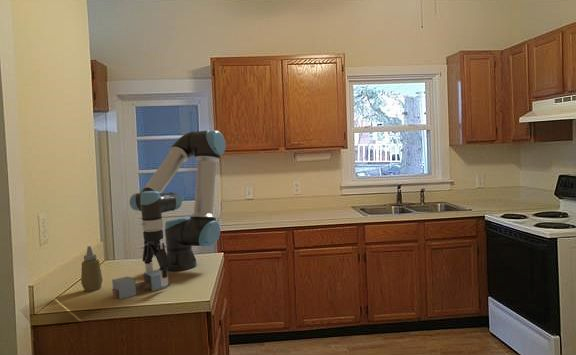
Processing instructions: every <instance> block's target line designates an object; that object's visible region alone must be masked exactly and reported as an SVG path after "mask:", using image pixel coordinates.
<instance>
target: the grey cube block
mask: <svg viewBox="0 0 576 355" xmlns="http://www.w3.org/2000/svg"><path fill="white" fill-rule="evenodd" d="M143 280H144V281H143V282H145V281H146V282H148V283H151V290H150V291H151V292H154V291H159V290H163V289H167V288H168V286H167V285H166V286H161V282H160V270H159V269H155V270H154V269H153V271H150V272H146V271H145V272H143Z"/></svg>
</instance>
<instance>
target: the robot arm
mask: <svg viewBox="0 0 576 355" xmlns="http://www.w3.org/2000/svg"><path fill="white" fill-rule="evenodd" d="M226 146H227V145H226V140H225V137H224V135H223V134H222V132H220V131H219V130H215V129H213V130H212V129H208V130H201V131H200V130H197V131H189V132H187V133H185V134H184V135H182V136H180V137H179V138H178V139H177V140H176V141H175V142H174V143H173V144H172V146H170V148H169V150H168V152H169V153H168V155H167V156H166V157H165V158H164V160H163V161H162V163H161V164H160V165H159V167H158V168H157V169H156V171H155V172H154V174H153V175H152V176H151V177H150V179H149V180H148V181H147V183H146V184H145V186H144V187H143V188H142V190H141V191H140V192H138V193H133V194H132V195H131V196H130V199H129V205H130V208H131V209H133V211H137V212H141V218H142V219H141V220H142V223H141V226H142V230H143V232H142V233H143V234H142V235H143V244H144V245H143V253H142V262H144V264H145V272H150V271H154V267H153V257H155V258H156V261H157V264H158V266H159V269H158V270H160V282H161V286H166V285H168V277H169V276H168V271H172V272H173V271H176V272H178V271H184V270H189V269H192V268H195V267H197V265H198V264H197V262H198V261H197V259H196V255H195V254H194V251H193V248H192V247H203V248H205V247H213V246H214V245H215V244H216V243H217V242H218V240H219V238H220V235H221V226H220V223H219V222H218V221H217V217H216V216H215V215H214V203H215V202H214V201H215V188H216V187H215V184H216V170H217V163H218V162H219V161H220V159H221V155H223V154H225V151H226V148H227V147H226ZM191 157H194V159H195V161H197V166H196V167H197V168H196V169H197V170H196V181H195V193H194V194H195V196H194V210H193V213H192V214H191V215H190V217H189V216H183V217H178V218H173V219H168V220H166V222H165V224H164V231H163V219H162V218H163V216H162V214H163V213H166V212H173V211H175V210H176V211H177V210H179V209H180V208H181V207H182V203H183V200H182V196H181V195H180V194H179V193H178V192H175V191H173V192H172V191H169V192H164V191H165V189H166V187H167V186H168V184H169V183H170V182H171V181H172V179H173V177H174V176H175V175H176V173H177V172H178V171H179V170H180V167H181V166H182V165H183V163H186V162H187V161H188V159H190V158H191ZM163 192H164V193H163ZM164 233H165V234H164ZM164 235H165V243H161V240H163V239H164ZM165 245H166V248H165Z"/></svg>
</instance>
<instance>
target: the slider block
mask: <svg viewBox="0 0 576 355" xmlns="http://www.w3.org/2000/svg"><path fill="white" fill-rule="evenodd" d="M136 284H137V283H136V279H135V278H133V277H130V276H128V275H127V276H124V277H119V278H114V279H112V289H117V290H118V291H119V298H118V299H120V300H122V299H126V298H131V297H135V296H137V294H136V287H135V286H136Z"/></svg>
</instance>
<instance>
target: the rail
mask: <svg viewBox="0 0 576 355" xmlns="http://www.w3.org/2000/svg"><path fill="white" fill-rule="evenodd" d="M170 279H171V278H170V277H169V276H168V285H167V287H169V286H170V285H171V280H170ZM135 287H136V295H137V294H139V293H144V292H149V291H151V283H148V282H146V281H141V282H138V283H136V286H135ZM111 291H112V292H111V293H112V298H113V299H116V300H117V299H119V291H118V290H117V289H113V288H112V289H111Z"/></svg>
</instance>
